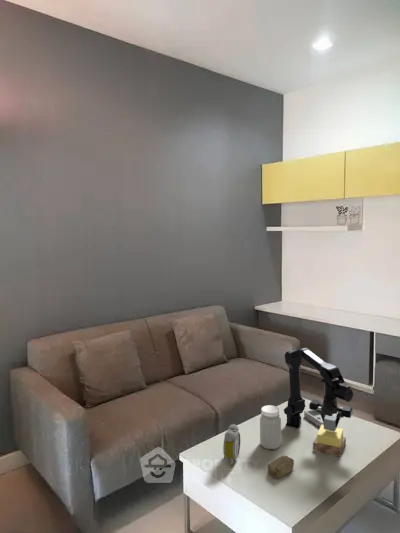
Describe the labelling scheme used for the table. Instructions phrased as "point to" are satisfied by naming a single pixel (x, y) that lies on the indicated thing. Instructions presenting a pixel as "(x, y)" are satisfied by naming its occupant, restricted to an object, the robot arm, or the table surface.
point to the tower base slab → (329, 448)
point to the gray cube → (330, 423)
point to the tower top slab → (330, 436)
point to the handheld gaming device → (314, 417)
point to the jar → (270, 427)
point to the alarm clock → (231, 443)
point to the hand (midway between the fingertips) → (330, 425)
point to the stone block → (280, 466)
